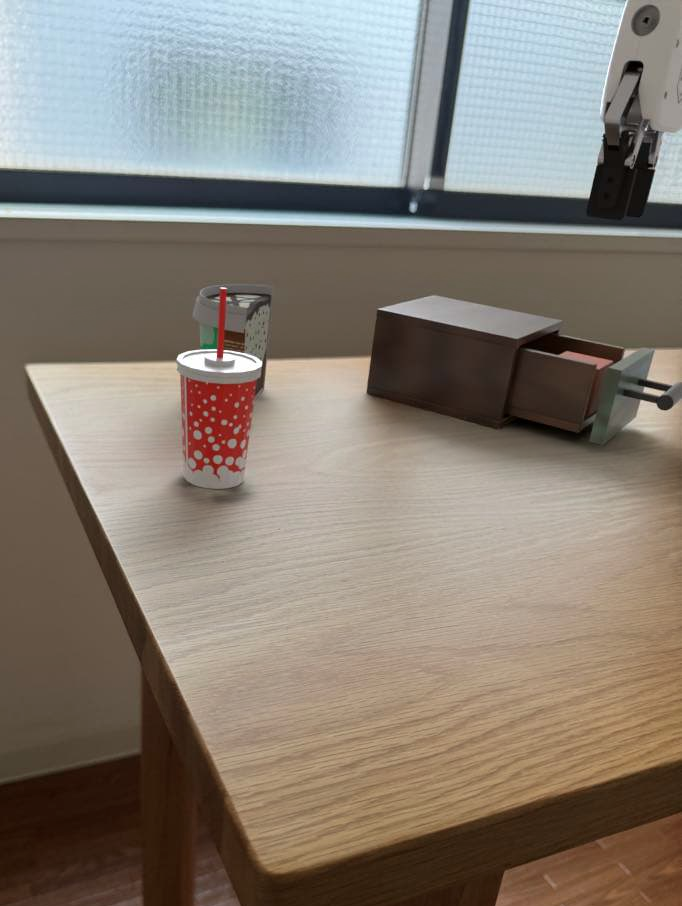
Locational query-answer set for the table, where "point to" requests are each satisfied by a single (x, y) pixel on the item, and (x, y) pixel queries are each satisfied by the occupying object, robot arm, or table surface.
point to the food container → (238, 321)
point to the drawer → (582, 385)
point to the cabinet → (451, 356)
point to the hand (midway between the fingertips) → (615, 214)
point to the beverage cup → (216, 411)
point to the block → (598, 378)
